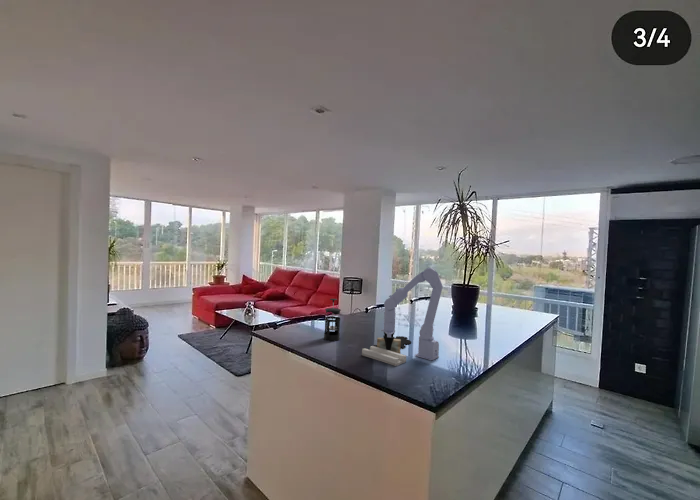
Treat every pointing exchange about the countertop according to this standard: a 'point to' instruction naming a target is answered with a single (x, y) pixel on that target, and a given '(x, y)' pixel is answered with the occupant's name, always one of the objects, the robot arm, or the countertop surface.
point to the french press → (332, 334)
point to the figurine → (402, 341)
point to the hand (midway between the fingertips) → (388, 347)
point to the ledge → (384, 355)
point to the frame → (394, 348)
